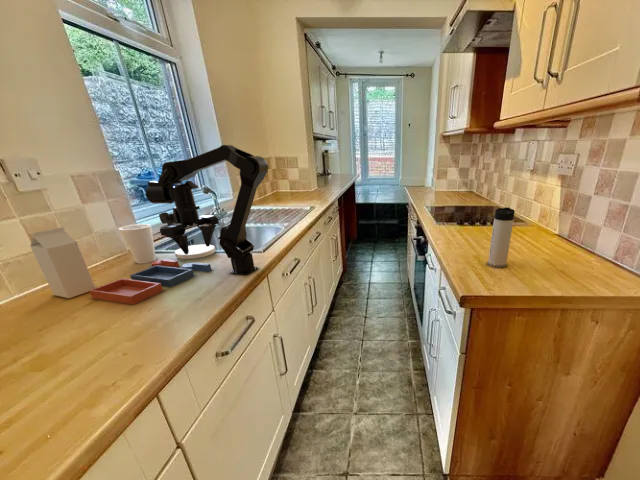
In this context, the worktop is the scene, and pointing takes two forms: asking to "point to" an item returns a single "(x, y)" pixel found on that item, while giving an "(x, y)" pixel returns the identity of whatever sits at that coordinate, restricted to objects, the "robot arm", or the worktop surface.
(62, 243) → the milk carton
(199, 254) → the plastic lid
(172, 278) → the blue tray
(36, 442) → the worktop surface
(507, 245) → the travel mug
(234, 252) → the robot arm
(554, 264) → the worktop surface
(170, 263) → the terracotta spoon
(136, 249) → the foam cup
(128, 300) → the terracotta tray
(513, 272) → the worktop surface
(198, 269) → the blue spoon
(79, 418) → the worktop surface
